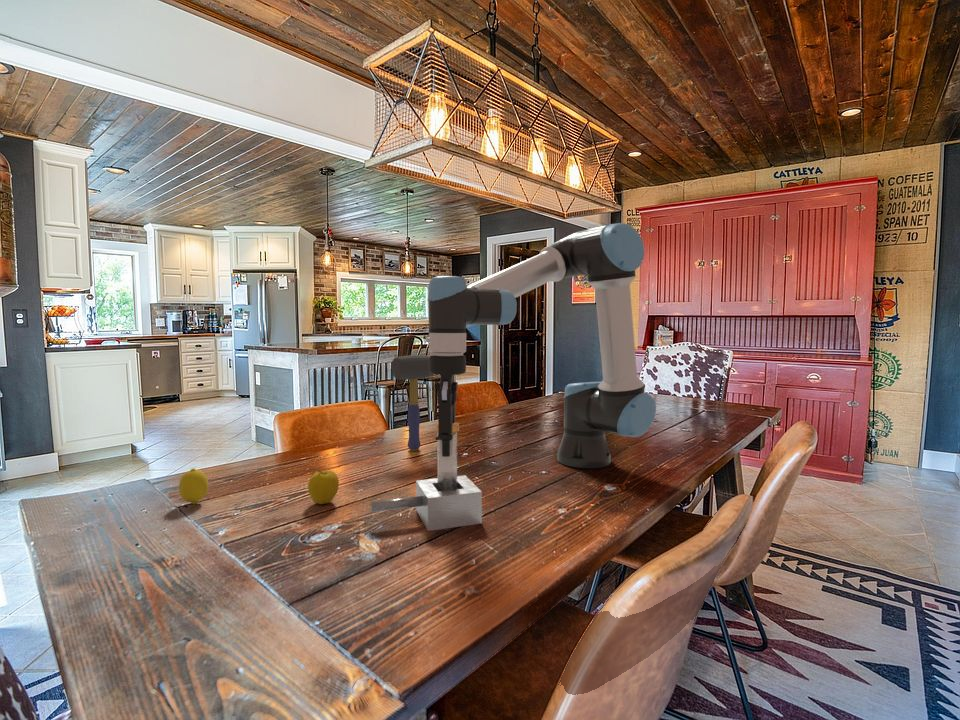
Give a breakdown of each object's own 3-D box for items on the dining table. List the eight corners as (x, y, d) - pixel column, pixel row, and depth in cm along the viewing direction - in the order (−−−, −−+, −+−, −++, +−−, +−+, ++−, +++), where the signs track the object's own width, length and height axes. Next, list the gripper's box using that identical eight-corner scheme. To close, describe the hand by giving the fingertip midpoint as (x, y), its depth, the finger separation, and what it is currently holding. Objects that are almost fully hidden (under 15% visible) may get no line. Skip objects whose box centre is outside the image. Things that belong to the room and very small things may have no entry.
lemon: (173, 506, 105) (172, 470, 105) (196, 498, 111) (195, 463, 110) (192, 510, 104) (191, 473, 103) (214, 501, 109) (213, 466, 108)
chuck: (465, 504, 107) (465, 475, 107) (481, 523, 97) (481, 491, 97) (368, 516, 100) (368, 485, 100) (375, 538, 90) (374, 504, 90)
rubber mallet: (401, 456, 146) (400, 356, 144) (390, 450, 152) (389, 355, 150) (437, 449, 153) (436, 354, 151) (425, 444, 159) (424, 353, 157)
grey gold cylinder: (459, 487, 102) (459, 421, 101) (458, 495, 97) (458, 426, 96) (437, 486, 102) (436, 421, 101) (434, 494, 98) (434, 426, 97)
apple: (306, 509, 104) (305, 473, 103) (311, 499, 110) (310, 464, 110) (337, 508, 105) (336, 472, 104) (340, 497, 111) (340, 463, 111)
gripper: (433, 351, 106) (434, 456, 108) (422, 356, 89) (423, 481, 91) (468, 351, 106) (467, 456, 108) (463, 357, 89) (463, 481, 91)
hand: (447, 467), depth 100 cm, fingers closed on grey gold cylinder, 4 cm apart
